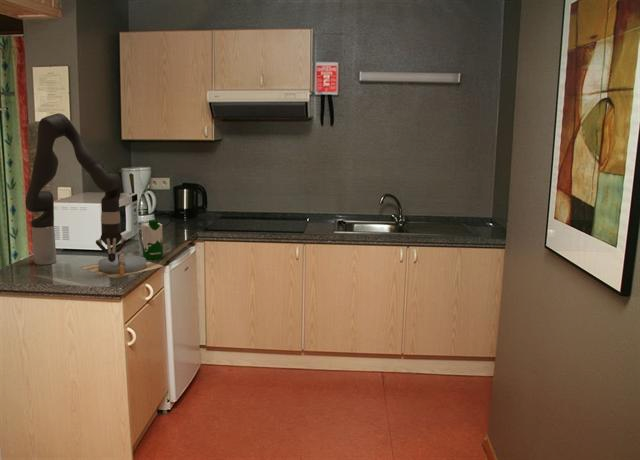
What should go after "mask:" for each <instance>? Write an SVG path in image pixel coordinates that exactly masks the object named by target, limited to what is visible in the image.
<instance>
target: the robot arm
mask: <svg viewBox="0 0 640 460" xmlns="http://www.w3.org/2000/svg"><path fill="white" fill-rule="evenodd" d="M62 137H65V138H66V139H67V140H68V141H69V142H70V143H71V145H72V148H73V152H74V155H75V158H76V160H77V162H78V163H79V165H80V166H81V167H82V168H83V169H84V170H85V171H86V172H87V173H88V174H89V176H90V177H91V179H92V181H93V183H94V185H95V186H97V188H98V189H99V190H100V191H102V192H104V196H103V197H102V198H101V201H100V203H101V205H100V207H101V209H100V210H101V212H100V214H101V215H100V223H101V228H100V229H101V235H100V237H99V238H98V239H96V240H95V244H96V245H97V247H99V249H100V250H101V251H102V252H103V253H106V254H108V255H107V256H108V260H109V261H110V262H114V261H115V256H116V253H120V252H121V250H122V249H123V248H124V246H125V245H127V242H128V240H127V239H125V238H123V236H122V233H121V213H120V198H121V193H122V186H123V185H122V184H123V183H122V180H121V178H120V176H119V175H118V174H116V173H107V171H106V170H105V164H104V163H103V161H101V159H100V158H98V156H97V155H96V154H95V153H94V151H92V150H91V149H90V147H89V146H88V144H87V143H86V142H85V141H84V139H83V138H82V136H81V134H80V133H79V132H78V130H77V129H76V127H75V126H74V124H73V123H72V122H71V120H70V119H69V117H67V116H66V115H64V113H60V112H58V113H54V114H51V115H47V116H44V117H42V118H40V120H39V123H38V128H37V144H36V151H35V156H34V160H33V164H32V165H33V166H32V171H31V172H32V173H31V178H30V183H29V185H28V188H27V192H26V196H25V201H24V202H25V209H26V210H27V211H28V212H30V213H31V212H32V213H37V212H38V213H39V212H43V213H42V214H41V215H40V216H38V217H36V218H33V219H32V220H31V222H30V223H31V225H30V226H31V236H32V237H31V238H32V252H33V253H32V254H33V262H34V264H35V265H38V266H39V265H40V266H41V265H51V264H54V263H57V251H56V249H57V248H56V238H55V237H56V234H55V211H54V210H55V209H54V208H55V207H54V206H55V205H54V204H55V203H54V201H55V199H54V195H53V193H52V192H51V191H50V190H43V188H44V187H45V186H47V185H48V184H49V183H50V182H51V181H52V180H53V179H54V178H55V177H56V175H57V171H58V166H59V160H58V156H57V154H56V153H55V152H54V149H53V148H54V144H55V141H56V140H57V139H59V138H62ZM119 242H120V244H119ZM103 243H104V244H105V246H104V244H103ZM118 244H119V246H118V247H117V245H118ZM106 246H107V248H106Z"/></svg>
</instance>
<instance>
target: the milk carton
mask: <svg viewBox="0 0 640 460" xmlns="http://www.w3.org/2000/svg"><path fill="white" fill-rule="evenodd" d="M140 225H141V237H142V241H141V242H142V243H141V244H142V257H144V258H146V261H153V260H154V261H155V260H162V259H163V258H164V251H163V250H164V249H163V248H164V245H163V243H164V242H163V239H164V238H163V224H162V223H160V222H159V220H158V219H149V220H148V222H145V223H144V222H143V223H140Z"/></svg>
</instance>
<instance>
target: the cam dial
mask: <svg viewBox="0 0 640 460" xmlns="http://www.w3.org/2000/svg"><path fill="white" fill-rule="evenodd" d="M146 261H147V259H146V258H144V257H143V256H140V255H135V254H132V255H131V254H125V253H122V252H121V253H120V252H119V253H117V255H115V261H114V262H110V261H109V260H108V257H104V258H101V259H100V260H98V261H97V264H98V268H99V270H100V271H102V272H106V273H120V265H124V273H129V272H135V271H139V270H142V269H144V268H146Z"/></svg>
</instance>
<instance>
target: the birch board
mask: <svg viewBox="0 0 640 460" xmlns="http://www.w3.org/2000/svg"><path fill="white" fill-rule="evenodd" d="M163 267H164V268H165V267H166V266H165V265H162V264H158V263H155V262H151V261H149V260H146V268H144V269H142V270H139V271H135V272H129V273H124V265H120V273H106V272H102V271H100V270H99V268H98V263H94V264H89V265H84V266H80V267H79V268H81V269H84V270H86V271H89V272H93V273H96V274H98V275H99V274H100V275H102V276H105V277H108V278H111V279H117V278H121V277H124V276H125V277H126V276H130V275H135V274H138V273H142V272H146V271H152V270H155V269H159V268H160V269H161V268H163Z"/></svg>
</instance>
